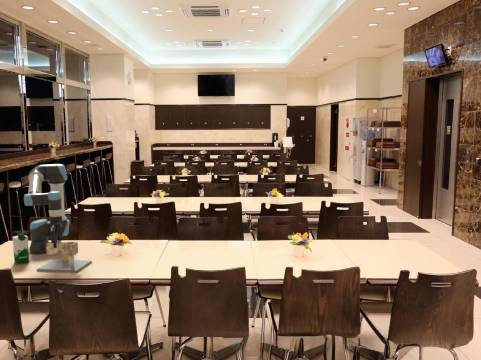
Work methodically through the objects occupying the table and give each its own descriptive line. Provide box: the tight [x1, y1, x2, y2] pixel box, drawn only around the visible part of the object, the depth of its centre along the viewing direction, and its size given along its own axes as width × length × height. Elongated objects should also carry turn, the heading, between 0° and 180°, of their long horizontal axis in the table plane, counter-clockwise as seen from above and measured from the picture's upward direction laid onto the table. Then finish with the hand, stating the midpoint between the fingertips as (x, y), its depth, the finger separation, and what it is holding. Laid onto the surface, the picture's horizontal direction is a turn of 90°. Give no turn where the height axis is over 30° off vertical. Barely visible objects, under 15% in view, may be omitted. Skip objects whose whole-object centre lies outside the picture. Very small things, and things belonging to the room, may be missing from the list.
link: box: [45, 241, 79, 256], centre depth 291 cm, size 18×6×7 cm, turn 88°
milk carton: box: [12, 233, 30, 265], centre depth 308 cm, size 9×9×20 cm
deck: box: [36, 255, 93, 274], centre depth 299 cm, size 21×27×11 cm
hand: (57, 251), depth 291 cm, fingers closed on link, 4 cm apart
